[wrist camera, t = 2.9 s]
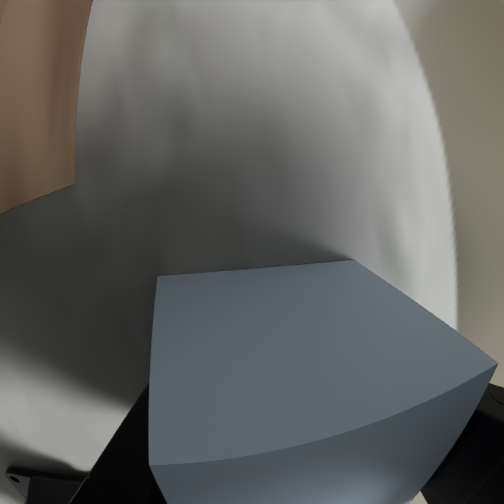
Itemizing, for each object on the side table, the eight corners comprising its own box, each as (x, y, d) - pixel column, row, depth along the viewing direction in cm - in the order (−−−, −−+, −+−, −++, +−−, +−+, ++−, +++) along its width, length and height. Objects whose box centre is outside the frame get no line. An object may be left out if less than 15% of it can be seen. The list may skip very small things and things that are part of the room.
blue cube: (330, 397, 10) (403, 509, 5) (181, 422, 9) (204, 567, 4) (353, 259, 8) (498, 363, 4) (157, 276, 7) (148, 465, 2)
